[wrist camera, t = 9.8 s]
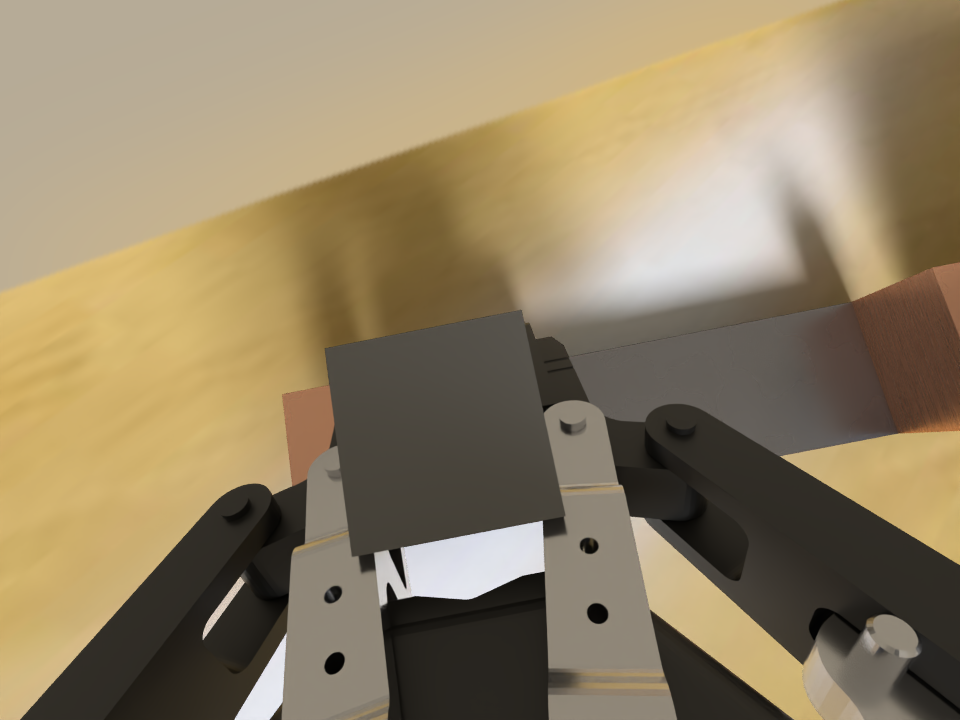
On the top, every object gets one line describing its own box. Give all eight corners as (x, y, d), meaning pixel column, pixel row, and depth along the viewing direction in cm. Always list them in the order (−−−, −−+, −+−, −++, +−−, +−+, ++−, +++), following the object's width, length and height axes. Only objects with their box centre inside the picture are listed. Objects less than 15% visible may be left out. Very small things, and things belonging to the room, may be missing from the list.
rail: (356, 531, 19) (300, 562, 14) (340, 409, 20) (282, 394, 15) (897, 427, 19) (1051, 418, 14) (855, 309, 20) (983, 257, 15)
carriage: (408, 528, 17) (252, 655, 6) (387, 391, 18) (220, 304, 7) (573, 496, 17) (692, 572, 6) (544, 361, 18) (604, 229, 7)
